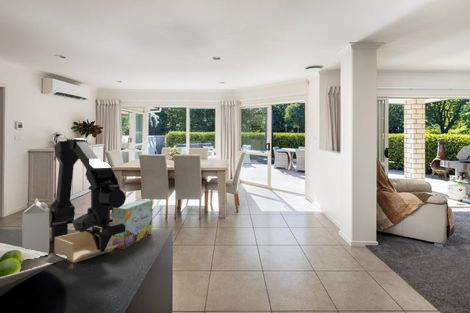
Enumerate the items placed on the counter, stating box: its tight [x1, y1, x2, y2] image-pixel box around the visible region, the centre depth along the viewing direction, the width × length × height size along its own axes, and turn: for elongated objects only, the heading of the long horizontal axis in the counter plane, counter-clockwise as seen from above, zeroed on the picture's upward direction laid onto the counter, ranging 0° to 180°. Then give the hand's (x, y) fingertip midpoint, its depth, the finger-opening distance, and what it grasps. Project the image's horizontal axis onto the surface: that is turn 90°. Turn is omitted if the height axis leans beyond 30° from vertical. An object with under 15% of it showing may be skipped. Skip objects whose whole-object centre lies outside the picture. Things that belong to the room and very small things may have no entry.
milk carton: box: [21, 197, 50, 254], centre depth 104 cm, size 7×7×19 cm
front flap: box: [72, 244, 119, 263], centre depth 101 cm, size 1×13×6 cm
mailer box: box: [54, 231, 109, 263], centre depth 106 cm, size 11×13×6 cm
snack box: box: [112, 198, 153, 250], centre depth 122 cm, size 21×6×15 cm, turn 168°
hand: (100, 251), depth 100 cm, fingers closed
